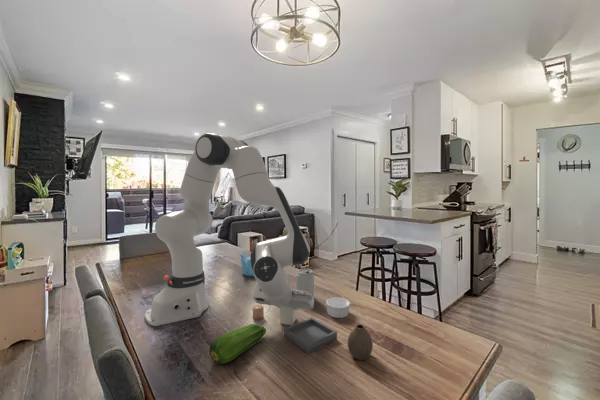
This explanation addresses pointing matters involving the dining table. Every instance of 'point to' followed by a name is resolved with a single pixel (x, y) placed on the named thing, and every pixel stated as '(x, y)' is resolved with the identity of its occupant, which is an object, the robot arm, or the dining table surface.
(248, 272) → the teapot
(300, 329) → the tray
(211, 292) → the dining table surface
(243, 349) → the vegetable
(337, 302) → the ramekin
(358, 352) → the vase
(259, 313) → the tan small cylinder
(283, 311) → the cream block
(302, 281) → the can
